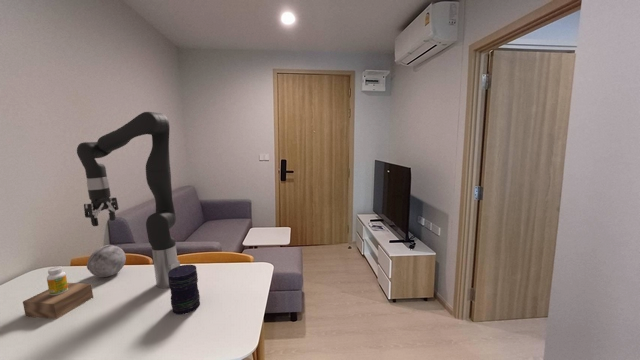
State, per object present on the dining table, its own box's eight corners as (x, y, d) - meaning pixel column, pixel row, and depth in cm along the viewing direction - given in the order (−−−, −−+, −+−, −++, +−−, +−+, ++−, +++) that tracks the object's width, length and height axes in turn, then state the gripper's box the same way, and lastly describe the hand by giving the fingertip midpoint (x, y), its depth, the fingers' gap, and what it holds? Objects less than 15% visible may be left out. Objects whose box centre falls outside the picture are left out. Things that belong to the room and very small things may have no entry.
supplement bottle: (57, 296, 106) (52, 272, 104) (45, 295, 107) (41, 271, 105) (72, 288, 111) (68, 265, 109) (61, 288, 112) (57, 265, 110)
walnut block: (93, 297, 115) (91, 284, 114) (56, 318, 101) (54, 303, 101) (65, 295, 117) (62, 282, 117) (25, 316, 104) (22, 301, 103)
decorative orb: (109, 267, 143) (105, 240, 141) (134, 268, 141) (131, 240, 139) (81, 282, 128) (76, 251, 126) (109, 283, 126) (104, 252, 124)
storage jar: (206, 301, 109) (202, 266, 107) (186, 317, 100) (182, 278, 98) (186, 298, 112) (182, 263, 110) (165, 312, 103) (161, 274, 101)
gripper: (90, 190, 115) (97, 228, 117) (119, 184, 129) (125, 218, 131) (75, 190, 116) (81, 228, 118) (105, 185, 130) (110, 218, 132)
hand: (104, 223), depth 125 cm, fingers open, 8 cm apart
